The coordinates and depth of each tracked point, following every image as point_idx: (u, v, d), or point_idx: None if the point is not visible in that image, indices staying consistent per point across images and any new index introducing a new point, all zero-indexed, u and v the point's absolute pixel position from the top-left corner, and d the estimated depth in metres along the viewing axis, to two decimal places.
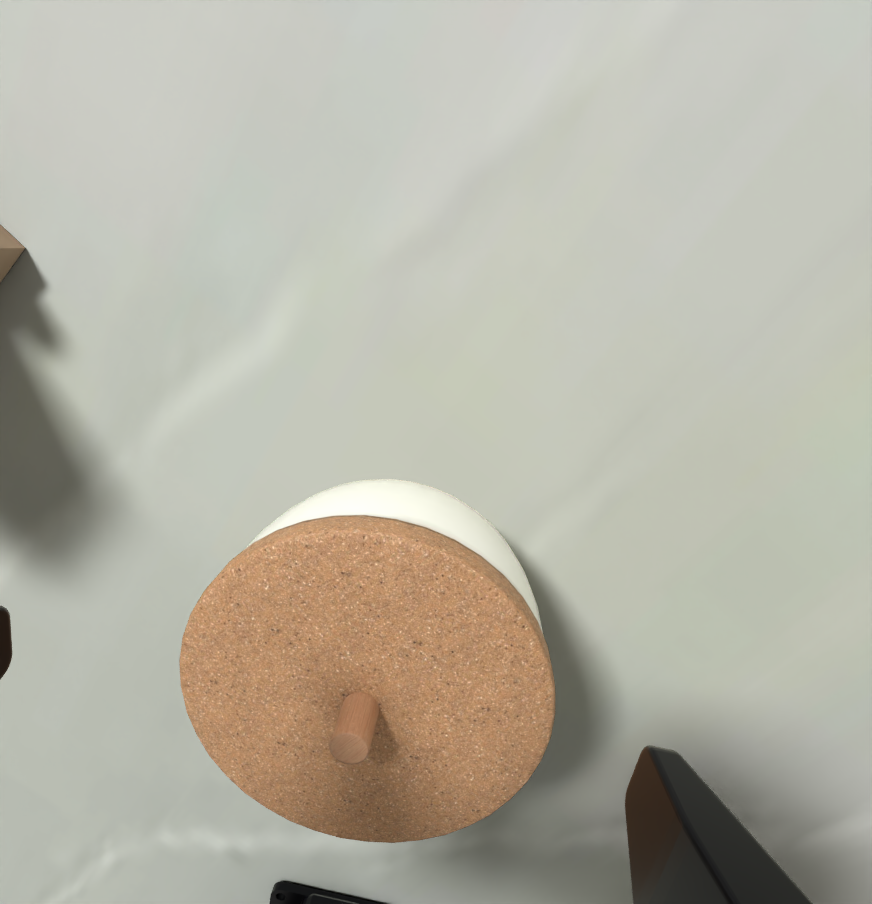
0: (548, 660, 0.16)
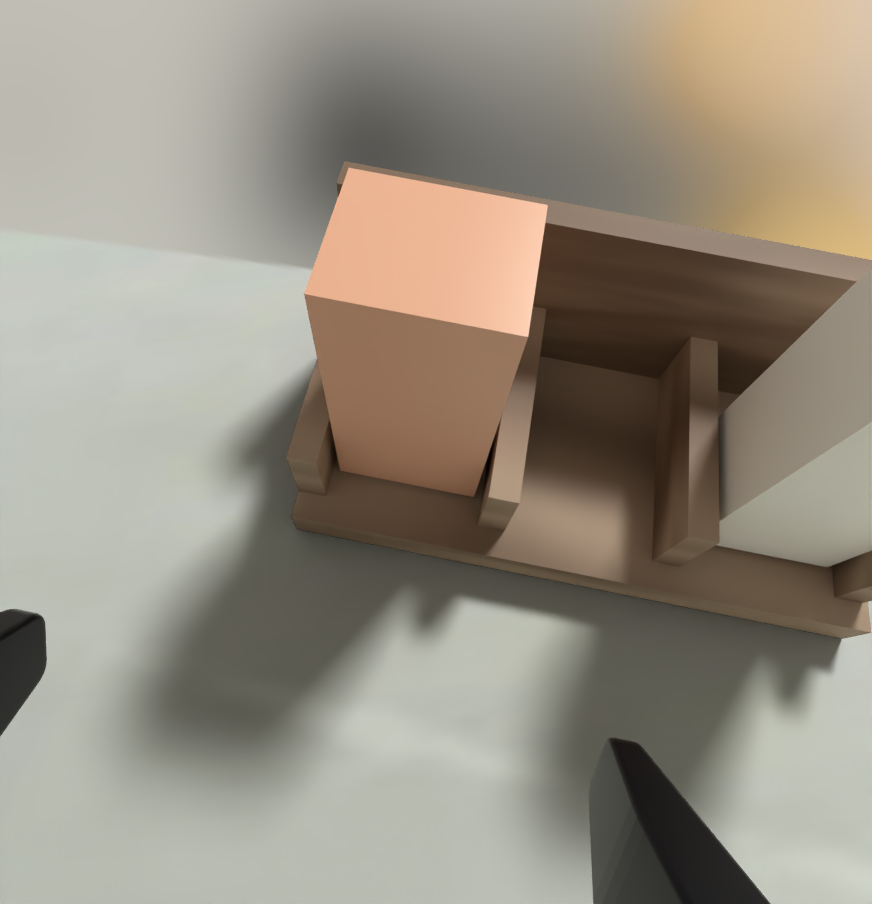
0: None
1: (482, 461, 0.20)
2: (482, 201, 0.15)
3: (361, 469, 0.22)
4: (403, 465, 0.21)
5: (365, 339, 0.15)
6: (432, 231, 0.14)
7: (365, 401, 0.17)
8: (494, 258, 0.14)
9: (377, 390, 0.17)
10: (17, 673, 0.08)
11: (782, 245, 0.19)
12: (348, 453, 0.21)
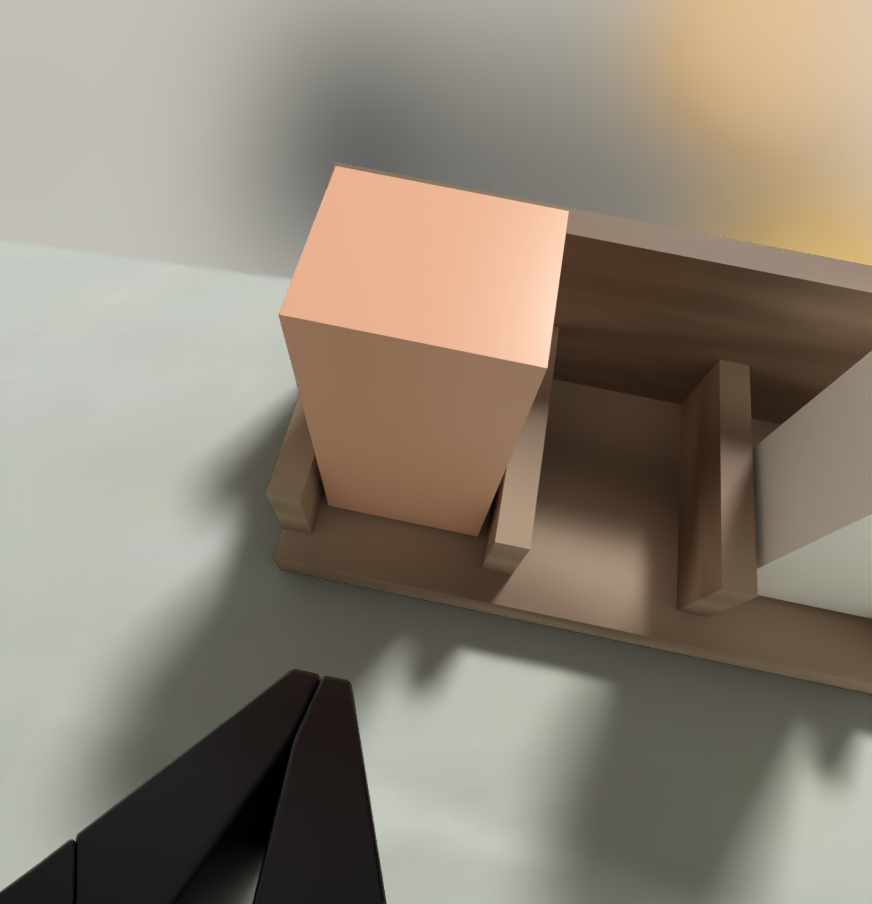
0: None
1: (488, 501, 0.17)
2: (491, 206, 0.13)
3: (352, 505, 0.20)
4: (399, 502, 0.19)
5: (353, 367, 0.12)
6: (432, 240, 0.12)
7: (355, 435, 0.15)
8: (506, 273, 0.12)
9: (368, 423, 0.14)
10: None
11: (828, 260, 0.17)
12: (336, 489, 0.19)
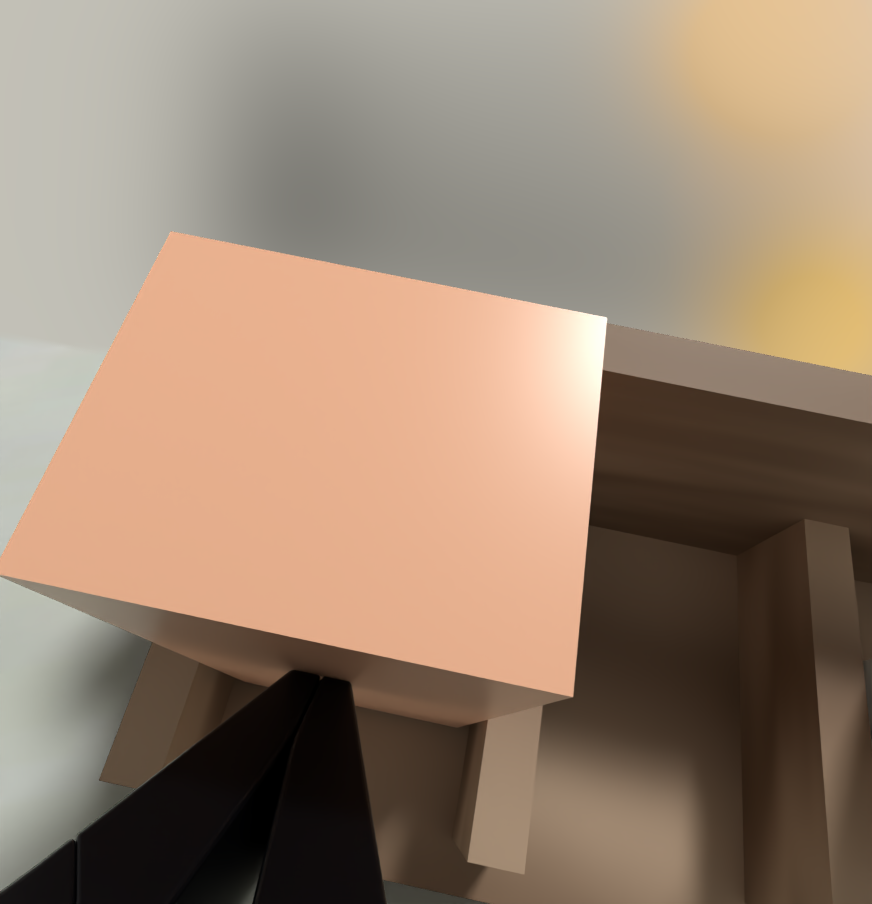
0: None
1: (468, 721, 0.11)
2: (461, 309, 0.07)
3: None
4: None
5: (188, 630, 0.06)
6: (342, 385, 0.06)
7: (242, 663, 0.09)
8: (487, 457, 0.06)
9: (255, 663, 0.08)
10: None
11: None
12: (247, 678, 0.13)
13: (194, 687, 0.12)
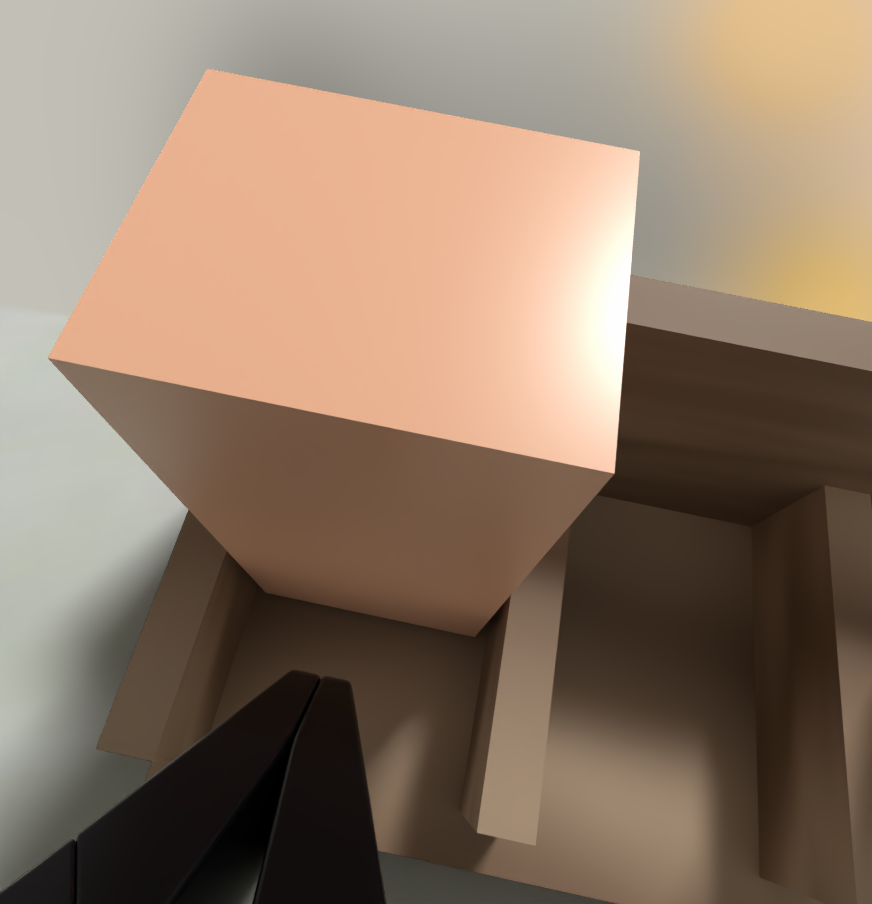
0: None
1: (489, 611, 0.11)
2: (496, 142, 0.07)
3: (297, 595, 0.14)
4: (359, 600, 0.13)
5: (230, 450, 0.06)
6: (381, 205, 0.06)
7: (272, 533, 0.09)
8: (524, 269, 0.06)
9: (286, 522, 0.09)
10: None
11: None
12: (269, 580, 0.13)
13: (194, 655, 0.11)
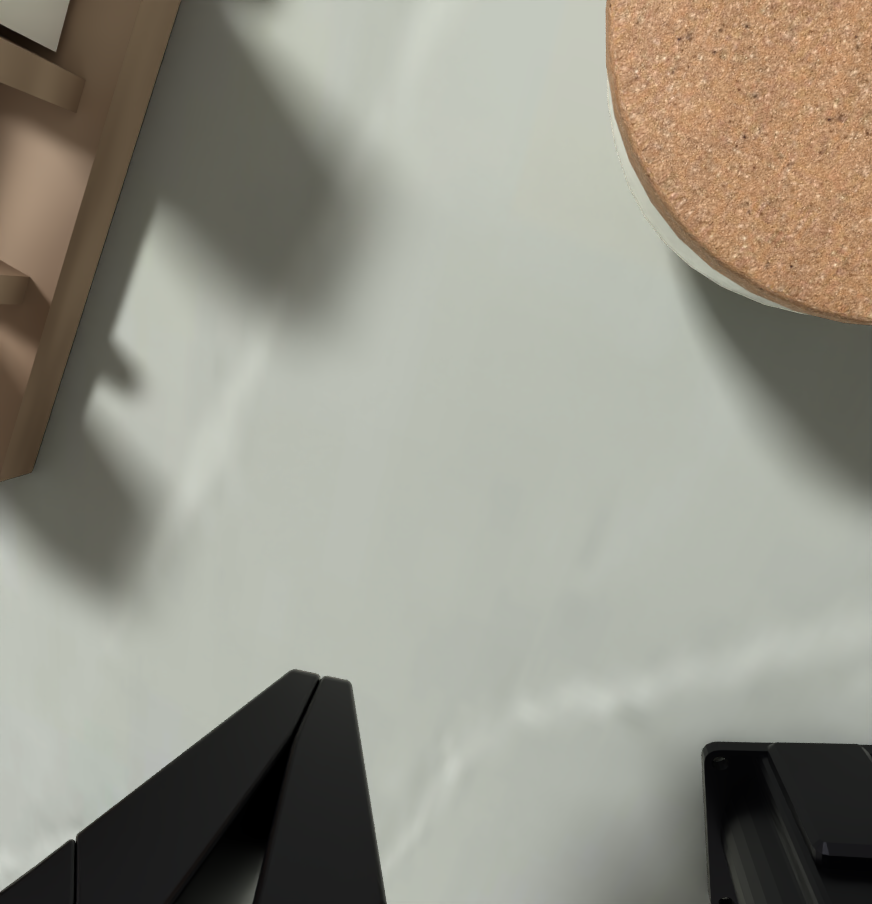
0: None
1: None
2: None
3: None
4: None
5: None
6: None
7: None
8: None
9: None
10: None
11: None
12: None
13: None
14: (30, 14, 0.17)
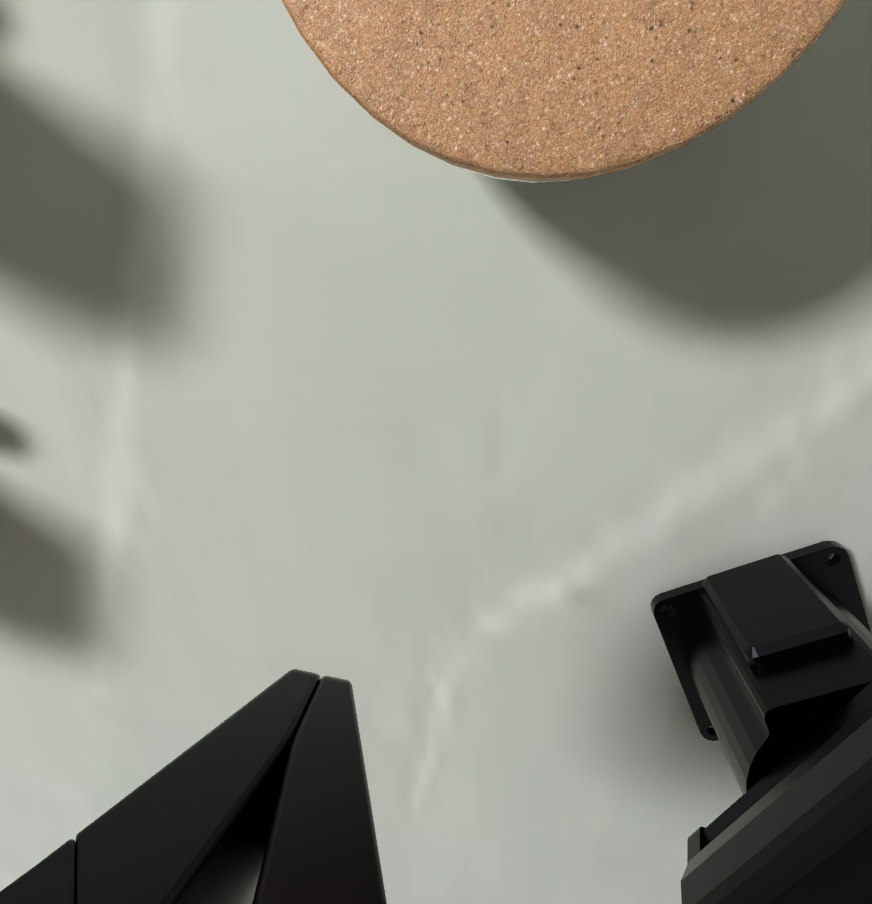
0: None
1: None
2: None
3: None
4: None
5: None
6: None
7: None
8: None
9: None
10: None
11: None
12: None
13: None
14: None
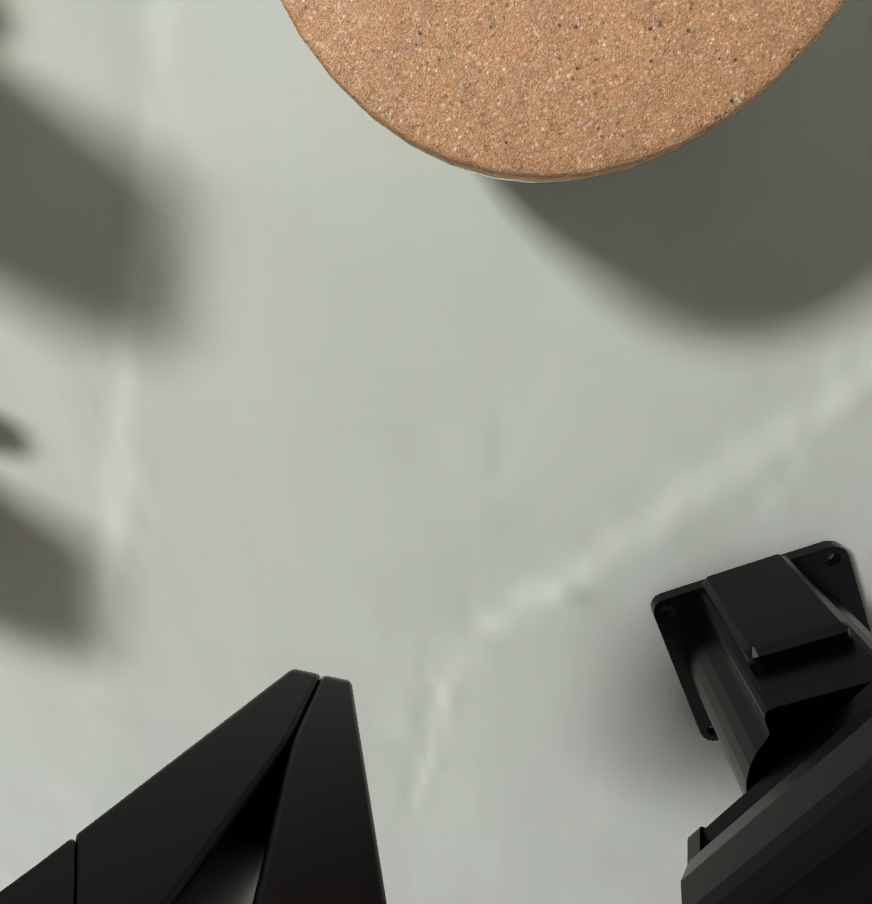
0: None
1: None
2: None
3: None
4: None
5: None
6: None
7: None
8: None
9: None
10: None
11: None
12: None
13: None
14: None
